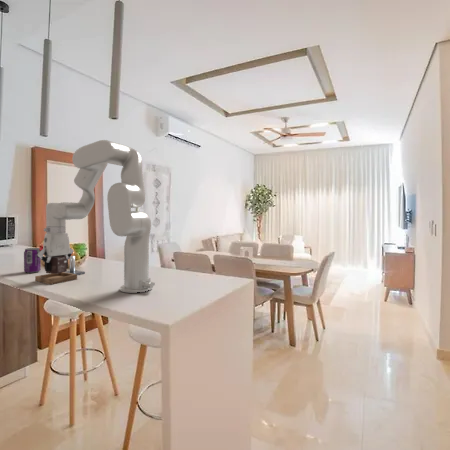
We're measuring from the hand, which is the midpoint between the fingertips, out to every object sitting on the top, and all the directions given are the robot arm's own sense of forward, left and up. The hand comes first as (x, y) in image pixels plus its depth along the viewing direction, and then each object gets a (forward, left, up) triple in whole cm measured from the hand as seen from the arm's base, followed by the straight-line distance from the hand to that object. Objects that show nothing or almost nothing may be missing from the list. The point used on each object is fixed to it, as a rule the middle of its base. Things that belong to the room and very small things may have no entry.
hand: (56, 269), depth 138 cm
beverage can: (+27, -5, -5) cm, 28 cm away
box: (0, 0, -2) cm, 2 cm away
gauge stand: (+6, -12, -5) cm, 14 cm away
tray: (0, 0, -5) cm, 5 cm away
